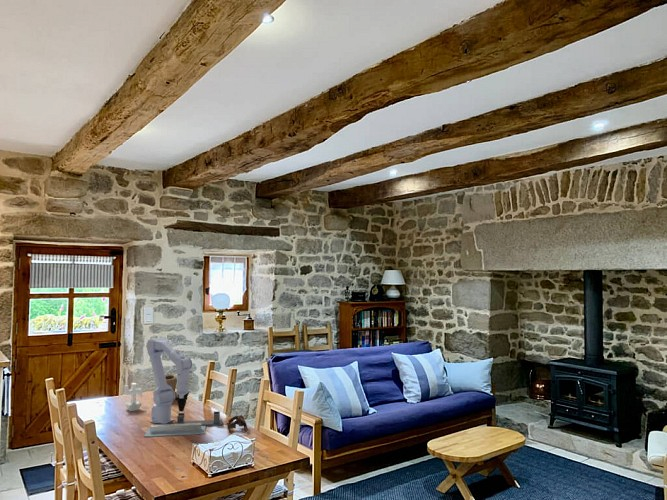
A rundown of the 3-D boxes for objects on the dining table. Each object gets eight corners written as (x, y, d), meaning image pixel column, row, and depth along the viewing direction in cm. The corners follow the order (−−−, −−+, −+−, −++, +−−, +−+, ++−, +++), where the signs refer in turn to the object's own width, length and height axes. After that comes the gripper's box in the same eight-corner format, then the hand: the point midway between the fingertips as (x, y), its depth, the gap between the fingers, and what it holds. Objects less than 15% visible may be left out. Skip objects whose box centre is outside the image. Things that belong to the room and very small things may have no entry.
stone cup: (159, 403, 297) (160, 378, 297) (154, 399, 306) (155, 374, 307) (184, 400, 305) (185, 375, 306) (179, 396, 315) (179, 372, 315)
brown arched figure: (247, 434, 246) (239, 421, 244) (230, 441, 247) (222, 428, 246) (252, 421, 257) (244, 408, 256) (236, 428, 259) (228, 415, 257)
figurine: (143, 409, 282) (144, 383, 283) (126, 412, 276) (127, 385, 277) (139, 407, 288) (140, 381, 289) (122, 409, 282) (123, 383, 283)
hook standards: (174, 427, 252) (174, 416, 252) (175, 423, 259) (175, 412, 259) (222, 425, 258) (222, 414, 258) (222, 421, 264) (222, 411, 265)
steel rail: (150, 433, 242) (150, 426, 242) (151, 431, 245) (151, 425, 245) (201, 430, 247) (201, 424, 248) (201, 428, 250) (201, 422, 250)
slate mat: (144, 437, 237) (144, 436, 237) (147, 429, 249) (147, 428, 249) (204, 434, 243) (204, 433, 243) (205, 426, 255) (205, 425, 255)
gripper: (190, 385, 247) (189, 412, 247) (192, 378, 261) (191, 404, 261) (175, 385, 246) (174, 413, 245) (178, 379, 260) (177, 405, 259)
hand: (182, 409), depth 253 cm, fingers open, 7 cm apart
